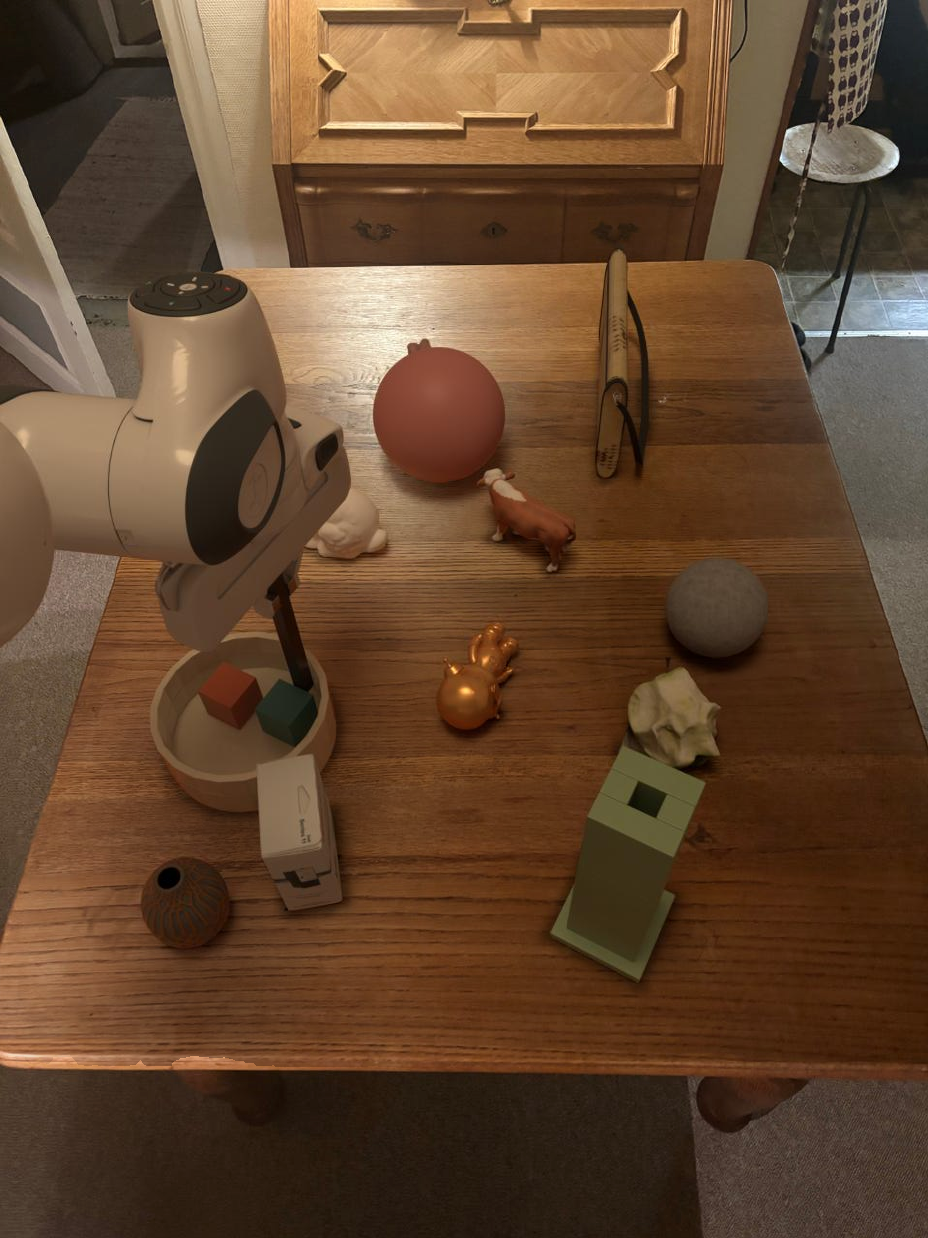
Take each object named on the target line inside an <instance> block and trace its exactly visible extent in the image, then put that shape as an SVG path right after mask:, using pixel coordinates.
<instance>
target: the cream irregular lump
mask: <svg viewBox="0 0 928 1238" xmlns="http://www.w3.org/2000/svg"><path fill="white" fill-rule="evenodd" d="M670 663H671V656H666V657H665V666H666V668H665V669H666V670H665V671H666V672H664V673H661V674H659V675H657V676H655V677H654V678H653V679H652V680H649V681H647V682H643V683H640V684H639V685H637V686H636V687H635V688H634V689H633V691H632V692H631V694H630V696H629V699H628V701H627V705H626V706H627V720H628V722H629V725H628V727H627V729H626V732H625V734H624V737H623V739H622V742H621V744H620V747H619V750H618V753H619V752H620V750H621V748H622V746H625V747H627V748H629V749H631V750H634V751H636V752H638V753H640V754H643V755H645V756H647V757H649V758H652V759H654V760H656V761H658V762H661V763H663V764H665V765H668V766H670V767H672V768H674V769H677V770H682V769H686V768H692V767H700V766H702V765H703V764H704V763H706V762H707V761H708V759H717V758H720V757H721V753H720V751H719V748H718V746H717V744H716V740H715V738H716V737H717V734H718V731H717V727H716V724H717V715H718V714H719V712H720V710H721V708H722V707H721V706H720V705H718V704H717V703H716V702H711V701H710V700H708V698H707V696H705V695H704V694H703V693H702V692H701V690H700V688H699V687H698V686H697V683H696V682H695V680H694V679H693V678H692V677H691V675H690V673H689V671H688V670H687V669H686V668H685V667H683V666H679V667H676V668H674V669H673V670H671V671H670V669H669V668H670Z"/></svg>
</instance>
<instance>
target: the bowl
mask: <svg viewBox="0 0 928 1238" xmlns="http://www.w3.org/2000/svg"><path fill="white" fill-rule="evenodd" d="M304 650H305V654H306V657H307V661H308V664H309V668H310V672H311V675H312V679H313V682H314V685H313V687H312V688H311V689H310V691H309V693H311V694H313V695H314V699H315V703H316V706H317V710H318V716H317V718H316V720H315V722H314V724H313V725H312V727H311V729H310V730H309V732H308V733H307V734H306V736H305V737H304V738H303V740H302V741H301V742H300V743H299V744H298V745H297V746H296V747H293V746H291V745H289V744H287V743H285V742H283V741H281V740H279V739H277V738H275V737H273V736H271V735H269V734H267V733H265V732H263V731H262V728H261V725H260V723H259V720H258V717H257V715H256V712H254V713H253V714H252V715H251V716H250V718H249V719H248V720H247V721H246V723H245V724H244V725H243V726H242V728H241V729H240V730H239V729H237V728H235V727H233V726H231V725H229V724H227V723H225V722H223V721H221V720H219V719H217V718H215V717H213V716H212V715H210V714H208V713H207V711H206V709H205V706H204V704H203V702H202V700H201V698H200V696H199V693H198V691H199V689H200V688H201V687H202V686H203V685H204V684H205V682H206V681H207V680H208V679H209V678H210V677H211V676H212V674H213V673H214V672H215V671H216V670H217V669H218V667H219V666H220V665H221V664H222V663H223V662H225V663H227V664H229V665H231V666H233V667H236V668H238V669H240V670H242V671H244V672H246V673H248V674H250V675H252V676H254V677H256V679H257V682H258V684H259V687H260V690H261V693H262V696H263V698H264V697H265V696H266V694H267V693H268V692H269V691H270V689H271V688H272V687H273V686H274V684H275V683H276V682H277V681H278V680H279V679H281V680H284V681H286V682H288V683H290V684H292V685H293V682H292V679H291V676H290V672H289V669H288V666H287V663H286V660H285V656H284V653H283V650H282V647H281V644H280V640H279V637H278V634H277V633H272V632H264V631H247V632H233V633H230V634H229V633H228V635H227V636H226V637H225V638H224V639H223V640H222V641H221V643H220V644H219V645H218V646H217V647H216V648H215V649H214V650H213V651H208V652H205V651H197V650H195V649H192V650H189V651H188V652H187V653H186V654H184V656H182V657H181V658H180V659H179V660H178V661H177V662H176V663H174V664H173V665H172V666H171V667H170V668H169V670H168V671H167V673H166V674H165V675H164V677H162V680H161V681H160V683H159V684H158V685H157V687H156V689H155V692H154V695H153V697H152V701H151V705H150V707H149V731H150V734H151V736H152V737H151V738H152V740H153V742H154V744H155V747H156V749H157V751H158V753H159V755H160V757H161V759H162V761H163V762H164V764H165V766H166V767H167V769H168V771H169V773H170V774H171V776H172V777H173V779H174V780H175V781H176V783H177V784H178V785H179V787H180V788H181V789H182V790H183V791H184V792H185V793H186V794H187V795H188V796H189V797H190V798H192V799H193V800H195V801H196V802H198V803H200V804H202V805H204V806H206V807H208V808H212V809H215V810H219V811H224V812H232V813H247V812H255V811H259V805H258V787H257V764H258V763H262V762H267V761H272V760H278V759H284V758H290V757H296V756H303V755H308V754H313V755H314V758H315V761H316V764H317V767H318V770H319V773H320V774H321V772H322V771H323V770H324V768H325V767H326V765H327V763H328V761H329V759H330V757H331V755H332V753H333V750H334V746H335V743H336V737H337V719H336V718H337V717H336V712H335V707H334V703H333V698H332V695H331V691H330V686H329V682H328V679H327V678H328V677H327V675H326V674H325V671H324V669H323V667H322V666H321V664H320V662H319V660H318V658H317V657H316V656H315V655H313V653H311V652H310V651H309V650H308V649H306V647H304Z"/></svg>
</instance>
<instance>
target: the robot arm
mask: <svg viewBox="0 0 928 1238" xmlns="http://www.w3.org/2000/svg"><path fill="white" fill-rule="evenodd" d="M126 304H127V306H126V307H127V317H128V325H129V330H130V335H131V339H132V344H133V349H134V352H135V357H136V362H137V364H138V368H139V371H140V375H141V384H140V388H139V392H138V395H137V398H129V397H128V398H127V397H119V396H118V397H117V396H107V395H106V396H105V395H93V394H84V393H83V394H82V393H71V392H62V391H58V390H53V389H48V388H41V387H34V386H28V385H23V384H15V383H14V384H13V383H9V384H1V385H0V649H2V647H4V646H5V645H6V644H8V643H9V642H10V641H11V640H12V639H14V637H15V636H16V635H18V634H19V633H20V632H21V630H23V629H24V628H25V627H26V626H27V624H29V622H30V621H31V620H32V619H33V617H34V615H35V614H36V613H37V611H38V610H39V608H40V606H41V604H42V602H43V600H44V597H45V594H46V592H47V590H48V586H49V583H50V580H51V574H52V571H53V565H54V560H55V551H65V552H73V553H83V554H92V555H102V556H110V557H119V558H129V559H137V560H138V559H139V560H148V561H157V562H161V563H162V565H161V567H160V568H159V570H158V572H157V577H156V580H155V581H154V592H155V593H156V595H157V599H158V603H159V609H160V611H161V615H162V618H163V621H164V624H165V627H166V630H167V633H168V635H169V636H170V637H171V638H172V639H174V640H175V641H176V642H178V643H180V644H182V645H183V646H185V647H188V648H190V649H192V650H193V649H195V650H197V651H205V652H208V651H213V650H214V649H215V648H216V647H217V646H218V645H219V644H220V643H221V641H222V640H223V639H224V638H225V637H226V636H227V635H229V633H230V632H231V631H232V630H233V629H234V628H235V627H236V626H237V624H238V623H239V622H240V621H241V620H242V619H243V618H244V617H245V616H246V614H247V613H248V612H249V611H250V610H251V608H252V607H253V610H254V611H255V613H256V614H257V615H259V616H261V617H263V618H265V619H268V620H271V619H272V620H273V618H272V617H273V616H274V615H275V613H276V612H277V611H278V610H279V609H280V607H281V604H280V599H279V596H278V595H275V594H273V593H269V592H268V591H267V589H268V588H269V587H270V585H271V584H272V583H273V582H274V581H275V580H276V579H277V577H278V576H279V575H280V574H281V573H282V572H283V576H284V579H285V583H286V587H287V590H288V594H289V597H291V596H292V595H293V593H295V591H296V590H297V589H298V588H299V587H300V586H301V581H300V577H299V572H300V568H301V565H302V564H301V563H302V559H303V555H304V548H306V547H305V545H306V544H307V543H308V542H309V541H310V540H311V539H312V537H313V536H314V535H315V534H316V533H317V532H318V531H319V529H320V528H321V527H322V526H323V525H324V524H325V523H326V521H327V520H328V519H329V518H330V517H331V516H332V515H333V513H334V512H335V511H336V510H337V509H338V508H339V507H340V505H341V504H342V503H343V502H344V501H345V500H346V498H347V496H348V493H349V490H350V488H351V486H352V475H351V467H350V462H349V457H348V453H347V451H346V448H344V447H345V446H344V443H345V442H344V441H345V436H344V429H343V426H342V425H341V424H339V423H337V422H335V421H333V420H331V419H329V418H326V417H324V416H322V415H320V414H317V413H315V412H312V411H308V410H306V409H304V408H303V409H302V408H301V407H296V406H293V405H289V404H287V388H286V382H285V379H284V374H283V370H282V366H281V361H280V358H279V355H278V351H277V347H276V344H275V341H274V338H273V335H272V332H271V329H270V326H269V324H268V321H267V317H266V316H265V313H264V311H263V308H262V307H261V303H260V302H259V300H258V298H257V296H256V295H255V293H254V291H253V290H252V289H251V287H250V286H249V285H248V283H246V282H245V281H243V280H241V279H239V278H237V277H234V276H232V275H230V274H224V273H218V272H211V271H210V272H209V271H190V270H189V271H176V272H173V273H167V274H161V275H158V276H157V275H156V276H155V277H152V278H150V279H148V280H147V281H145V282H143V283H142V284H141V285H138V286H137V287H136V288H134V289H133V290H132V291H131V292H130V294H129V295H128V298H127V302H126Z"/></svg>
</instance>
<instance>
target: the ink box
mask: <svg viewBox="0 0 928 1238" xmlns="http://www.w3.org/2000/svg"><path fill="white" fill-rule="evenodd" d="M257 787H258V805H259V810H258V821H259V822H258V824H259V841H260V842H259V843H260V845H259V846H260V856H261V857H260V858H261V859H262V861H263V863H264V865H265V866H266V868H267V871H268V872H269V874H270V876H271V878H272V880H273V882H274V885H275V886H276V889H277V890H278V892H279V894H280V896H281V898H282V900H283V902H284V904H285V906H286V908H287V910H288V911H289V912H291V911H298V910H304V909H305V910H306V909H311V908H316V907H322V906H326V905H332V904H337V903H341V902H342V901H343V890H342V883H341V873H340V866H339V856H338V849H337V839H336V832H335V823H334V816H333V811H332V808H331V805H330V801H329V798H328V795H327V792H326V788H325V786H324V783H323V779H322V776H321V772H320V773H319V770H318V767H317V764H316V761H315V758H314V755H313V754H308V755H303V756H296V757H290V758H284V759H278V760H272V761H267V762H262V763H258V764H257Z"/></svg>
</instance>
